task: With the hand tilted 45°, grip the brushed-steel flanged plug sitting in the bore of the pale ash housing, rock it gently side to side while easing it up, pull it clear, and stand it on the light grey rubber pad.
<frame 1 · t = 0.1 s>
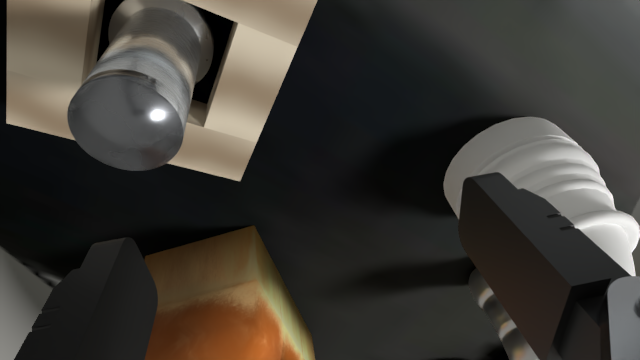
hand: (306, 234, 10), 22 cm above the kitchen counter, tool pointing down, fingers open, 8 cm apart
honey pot: (502, 169, 41), on the kitchen counter
ash housing: (165, 38, 28), on the kitchen counter
steel plug: (150, 74, 23), in the ash housing
bread: (241, 299, 49), on the kitchen counter
plastic bottle: (486, 267, 52), on the kitchen counter
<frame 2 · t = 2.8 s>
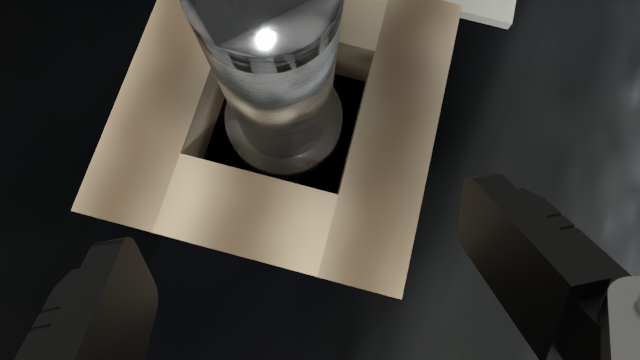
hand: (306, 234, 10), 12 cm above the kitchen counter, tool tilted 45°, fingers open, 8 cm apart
ash housing: (285, 124, 23), on the kitchen counter
steel plug: (277, 77, 18), in the ash housing
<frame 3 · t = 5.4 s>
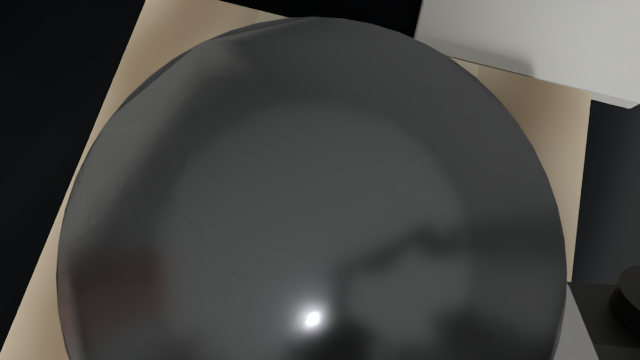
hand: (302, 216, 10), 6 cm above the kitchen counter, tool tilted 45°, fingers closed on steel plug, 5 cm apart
ash housing: (310, 262, 16), on the kitchen counter
steel plug: (311, 257, 10), in the ash housing, touching gripper
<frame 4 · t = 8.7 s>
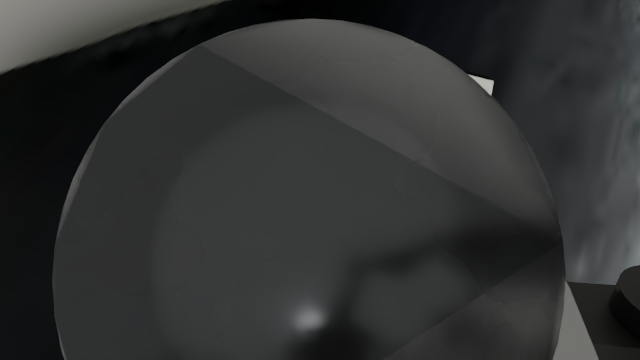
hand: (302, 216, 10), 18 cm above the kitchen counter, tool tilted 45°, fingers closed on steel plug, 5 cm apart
steel plug: (310, 258, 10), point 18 cm above the kitchen counter, touching gripper
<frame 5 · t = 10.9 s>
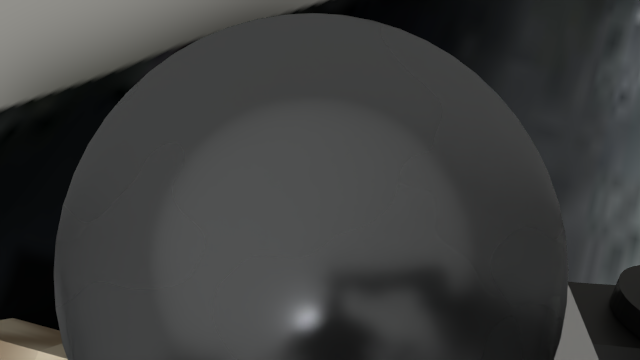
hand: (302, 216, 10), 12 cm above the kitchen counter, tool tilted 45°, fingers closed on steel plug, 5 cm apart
steel plug: (311, 256, 10), point 13 cm above the kitchen counter, touching gripper
when the fingers open (8 cm above the kitchen counter, at t = 12.4 s): steel plug drops 1 cm, resting on grey rubber pad.
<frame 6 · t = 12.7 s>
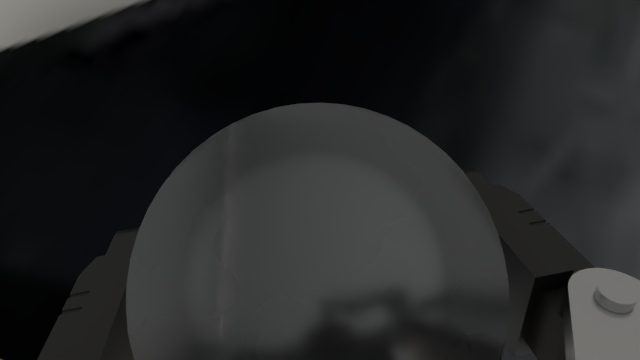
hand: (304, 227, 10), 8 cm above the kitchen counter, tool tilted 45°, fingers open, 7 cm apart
steel plug: (312, 270, 11), on the grey rubber pad, point 7 cm above the kitchen counter
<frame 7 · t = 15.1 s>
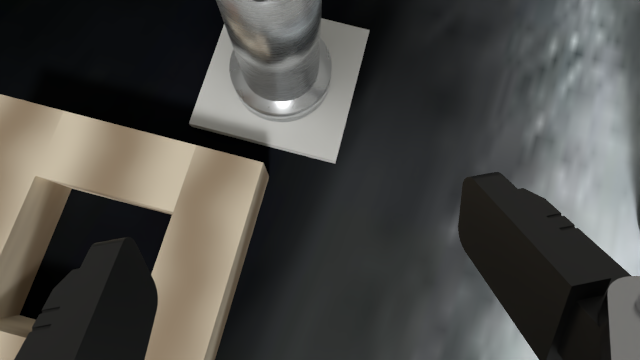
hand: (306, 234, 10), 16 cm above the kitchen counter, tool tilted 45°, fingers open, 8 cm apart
ash housing: (108, 265, 24), on the kitchen counter
steel plug: (274, 23, 21), on the grey rubber pad, point 7 cm above the kitchen counter
grey rubber pad: (283, 79, 28), on the kitchen counter
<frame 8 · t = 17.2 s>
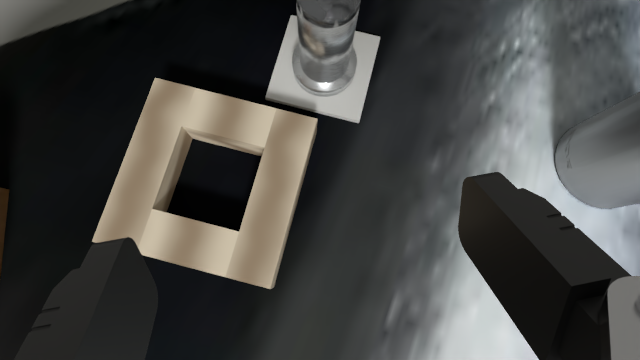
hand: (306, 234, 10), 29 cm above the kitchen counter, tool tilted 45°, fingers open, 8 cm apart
ash housing: (218, 185, 39), on the kitchen counter
steel plug: (326, 35, 36), on the grey rubber pad, point 7 cm above the kitchen counter
grey rubber pad: (323, 69, 42), on the kitchen counter
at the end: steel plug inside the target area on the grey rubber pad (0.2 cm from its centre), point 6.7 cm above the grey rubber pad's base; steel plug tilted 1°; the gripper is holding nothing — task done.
